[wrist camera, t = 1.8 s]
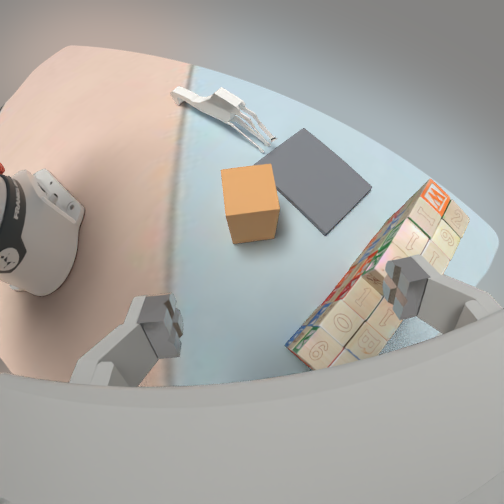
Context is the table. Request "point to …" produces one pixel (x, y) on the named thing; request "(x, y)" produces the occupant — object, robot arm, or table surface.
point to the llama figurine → (223, 110)
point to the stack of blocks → (379, 282)
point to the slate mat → (315, 180)
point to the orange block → (250, 202)
